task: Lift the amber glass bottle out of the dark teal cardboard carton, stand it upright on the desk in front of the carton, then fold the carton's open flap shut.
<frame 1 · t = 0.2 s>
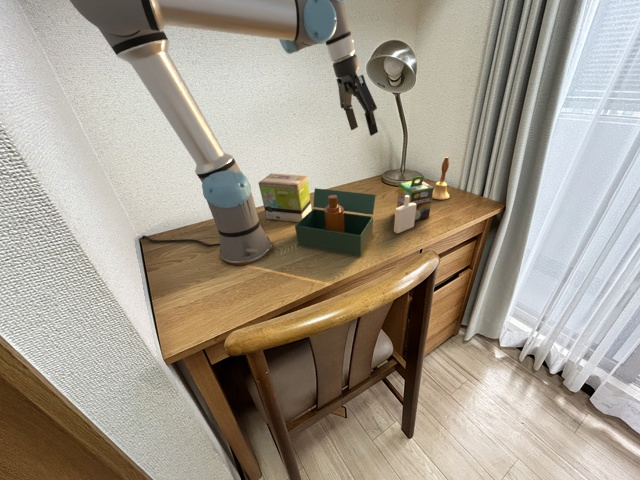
hand: (363, 131, 91), 28 cm above the table, tool tilted 20°, fingers open, 13 cm apart
amber bottle: (336, 240, 85), resting on carton
chalk box: (412, 215, 99), on the table
flap: (343, 201, 85), point 11 cm above the table, hinge at 115.0°
hand bell: (439, 196, 112), on the table
perfume bottle: (403, 229, 90), on the table
tea box: (290, 216, 102), on the table
carton: (336, 241, 85), on the table
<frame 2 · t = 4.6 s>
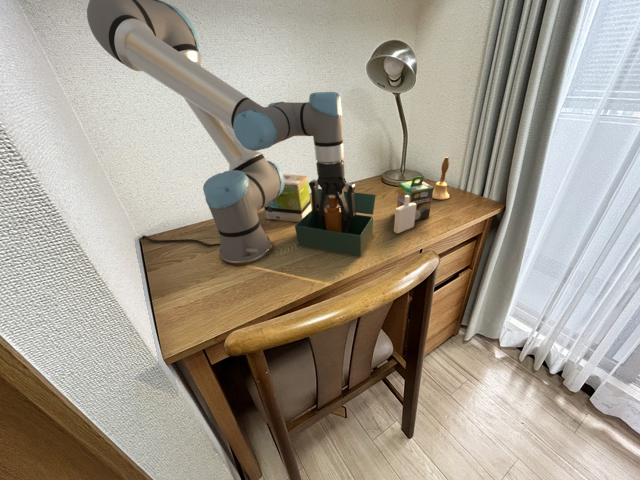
hand: (335, 234, 84), 2 cm above the table, tool pointing down, fingers closed on amber bottle, 6 cm apart
amber bottle: (336, 240, 85), resting on carton, touching gripper
everything else where it was.
when the fingers open (2 cm above the table, at t = 13.7 s): amber bottle stays where it is, on the table.
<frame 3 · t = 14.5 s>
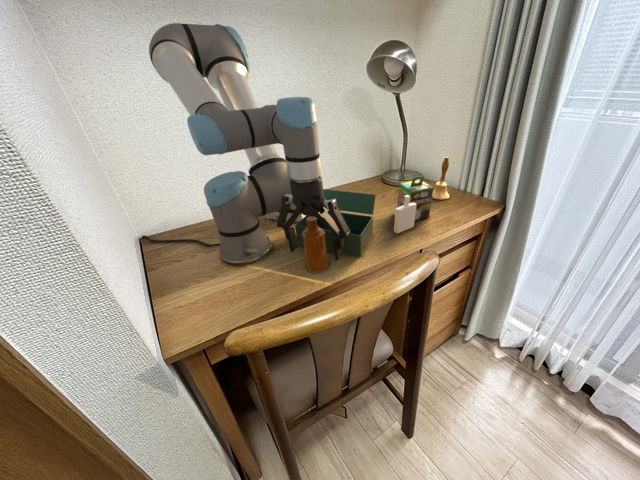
hand: (315, 253, 72), 4 cm above the table, tool pointing down, fingers open, 13 cm apart
amber bottle: (317, 265, 75), on the table
everything else where it was.
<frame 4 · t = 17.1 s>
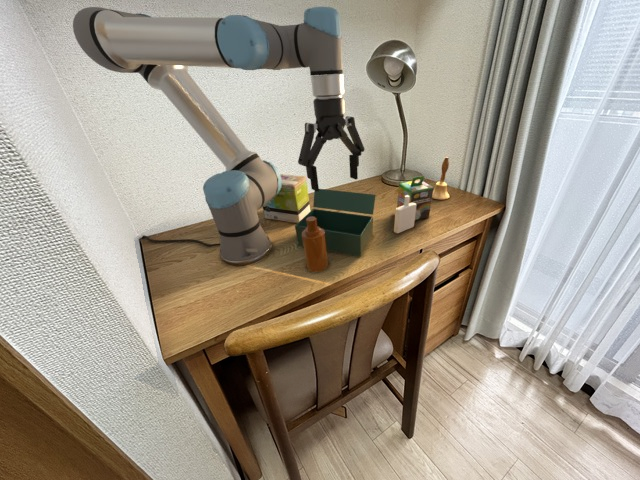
hand: (335, 184, 75), 19 cm above the table, tool pointing down, fingers open, 13 cm apart
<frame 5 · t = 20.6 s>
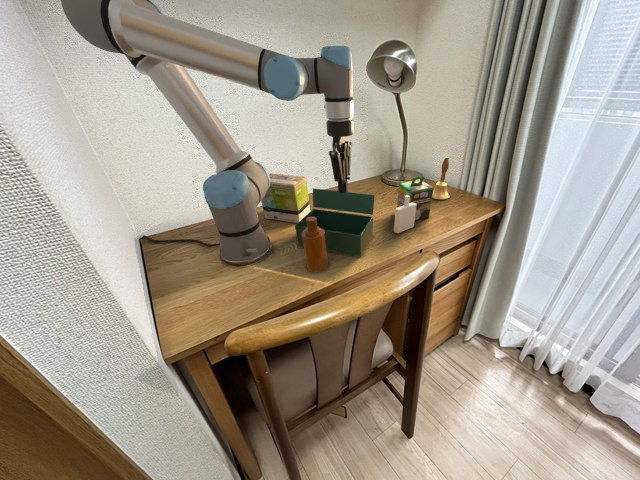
hand: (343, 200, 85), 11 cm above the table, tool pointing down, fingers closed
flap: (342, 201, 84), point 11 cm above the table, hinge at 102.4°, touching gripper
everything else where it was.
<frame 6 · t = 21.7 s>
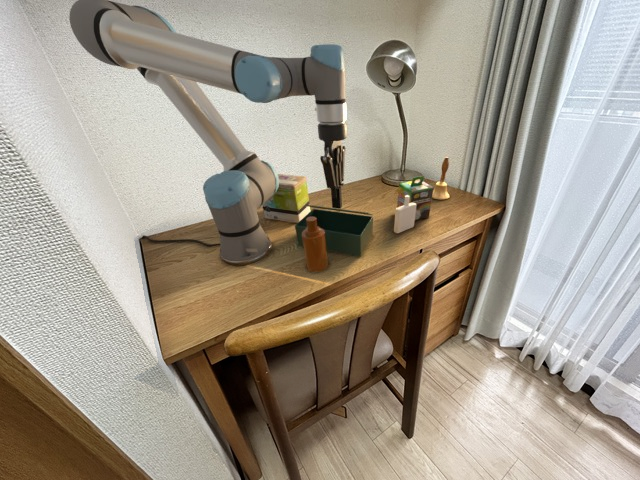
hand: (337, 207, 81), 11 cm above the table, tool pointing down, fingers closed
flap: (338, 210, 82), point 9 cm above the table, hinge at 29.8°
everything else where it was.
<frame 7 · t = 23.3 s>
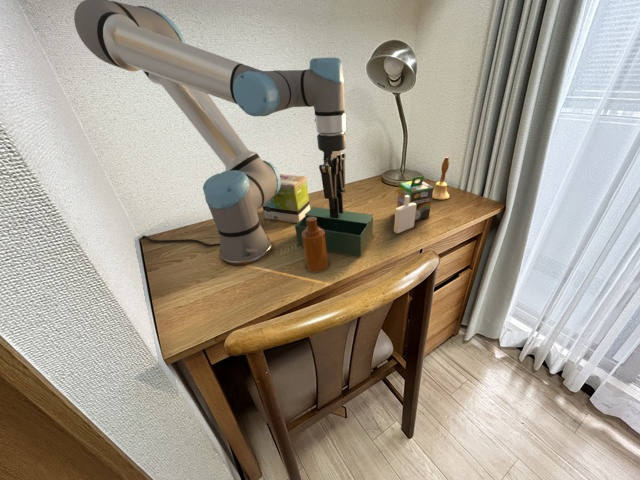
hand: (336, 214, 82), 8 cm above the table, tool pointing down, fingers open, 3 cm apart
flap: (338, 215, 83), point 8 cm above the table, hinge at 0.5°
everything else where it was.
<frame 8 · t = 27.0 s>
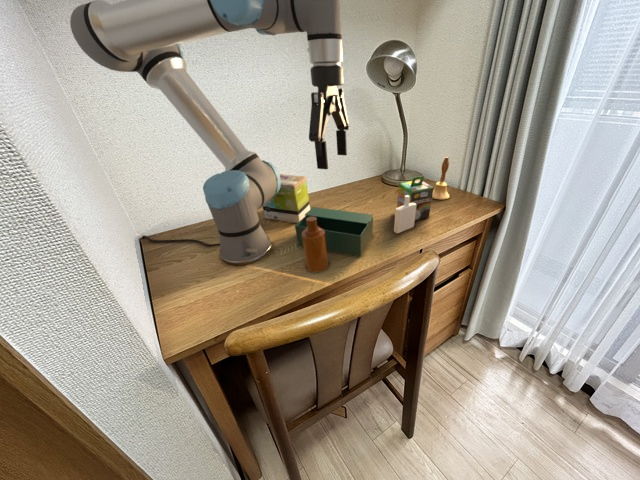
hand: (333, 161, 72), 25 cm above the table, tool pointing down, fingers open, 13 cm apart
nothing on the table moved.
at the end: amber bottle inside the target area (0.2 cm from its centre), on the table; amber bottle tilted 0°; flap at +0° (first picture: +115°) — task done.
